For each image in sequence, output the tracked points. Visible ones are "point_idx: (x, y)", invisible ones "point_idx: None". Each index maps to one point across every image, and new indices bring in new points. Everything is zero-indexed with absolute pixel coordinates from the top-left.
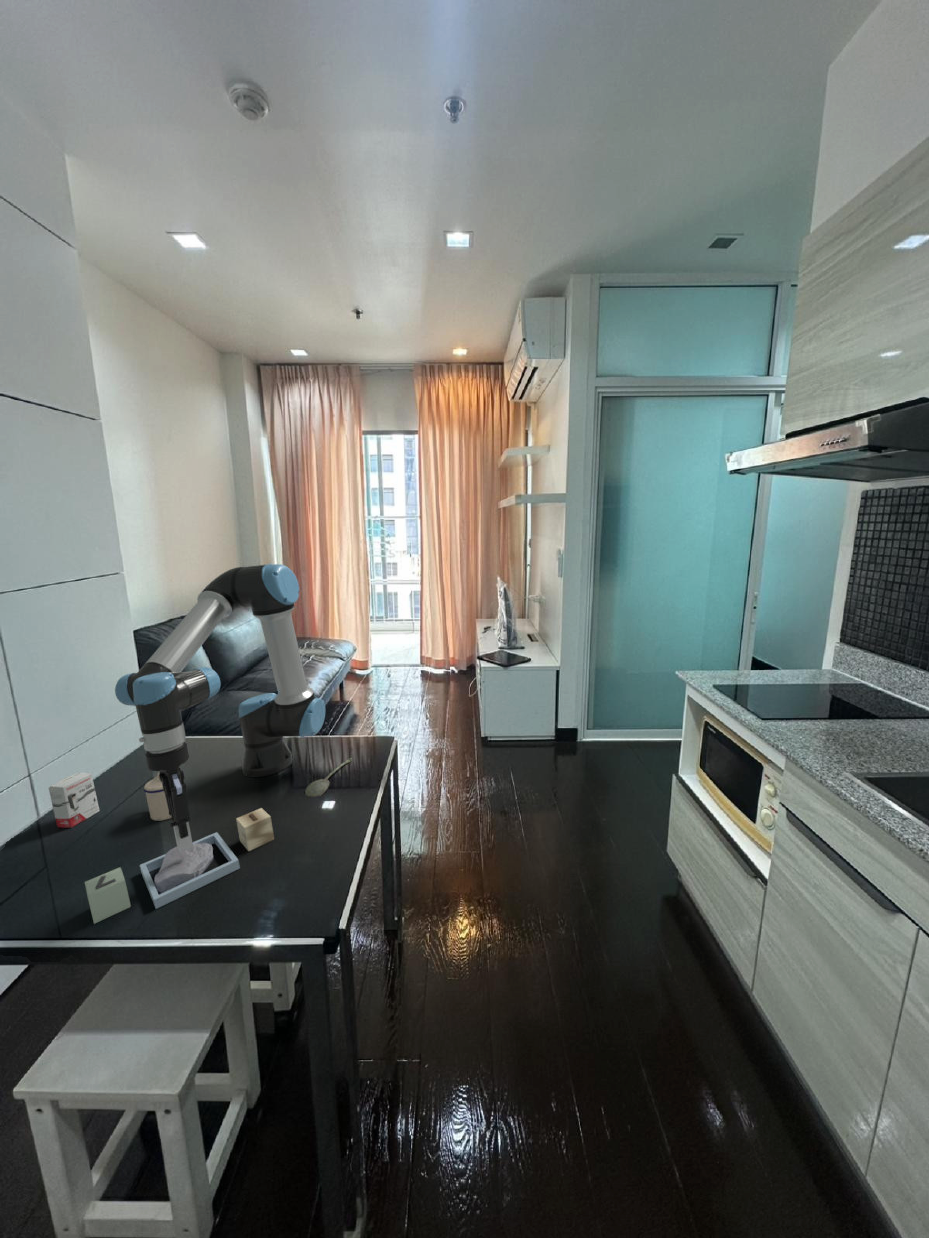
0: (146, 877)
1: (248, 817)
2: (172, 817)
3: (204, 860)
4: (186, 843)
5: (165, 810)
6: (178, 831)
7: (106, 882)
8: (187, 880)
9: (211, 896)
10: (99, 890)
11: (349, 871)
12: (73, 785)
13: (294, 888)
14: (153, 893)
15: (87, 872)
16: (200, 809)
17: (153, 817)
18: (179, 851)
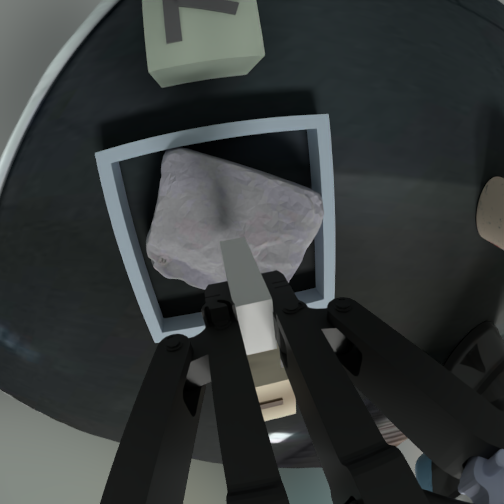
0: (237, 125)
1: (272, 398)
2: (279, 320)
3: (210, 277)
4: (226, 277)
5: (492, 207)
6: (229, 294)
7: (177, 18)
8: (149, 230)
9: (82, 270)
10: (146, 7)
11: (71, 423)
12: None
13: (54, 378)
14: (128, 148)
15: (406, 30)
16: (461, 260)
17: (494, 181)
18: (220, 244)
